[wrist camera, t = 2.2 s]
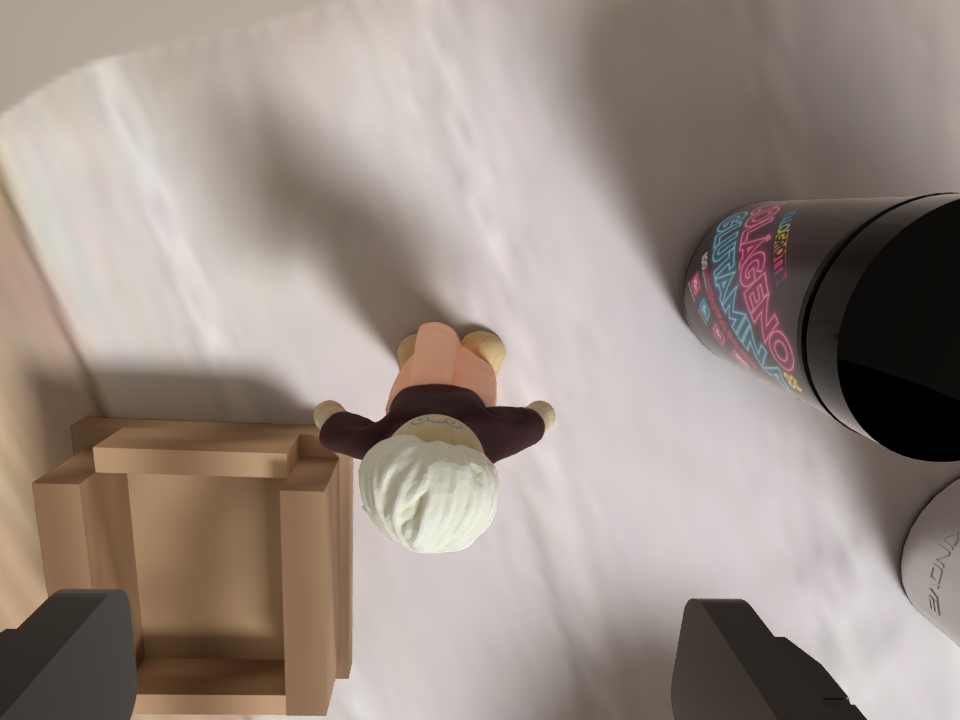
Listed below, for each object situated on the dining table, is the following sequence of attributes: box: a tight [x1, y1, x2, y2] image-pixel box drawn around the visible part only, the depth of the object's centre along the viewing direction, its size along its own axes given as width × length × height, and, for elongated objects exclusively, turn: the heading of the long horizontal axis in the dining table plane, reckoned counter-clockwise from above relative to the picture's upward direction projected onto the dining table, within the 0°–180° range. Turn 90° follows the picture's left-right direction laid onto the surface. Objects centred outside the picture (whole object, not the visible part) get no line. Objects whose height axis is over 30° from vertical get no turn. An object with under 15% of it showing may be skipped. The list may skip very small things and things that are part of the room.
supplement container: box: [682, 192, 960, 462], centre depth 19 cm, size 7×7×10 cm
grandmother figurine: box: [313, 322, 555, 554], centre depth 18 cm, size 8×4×13 cm, turn 100°
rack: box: [32, 417, 353, 716], centre depth 24 cm, size 11×12×4 cm
